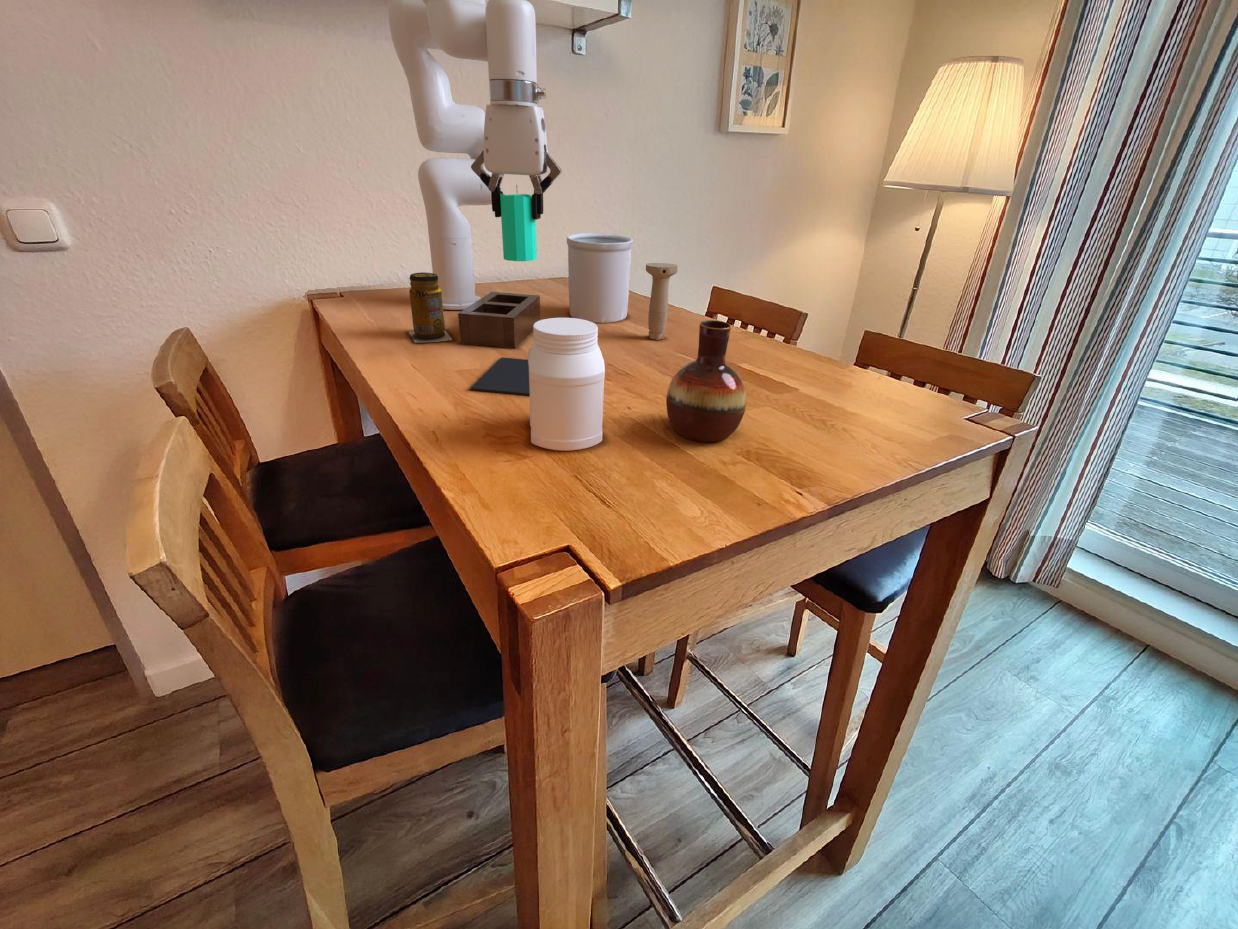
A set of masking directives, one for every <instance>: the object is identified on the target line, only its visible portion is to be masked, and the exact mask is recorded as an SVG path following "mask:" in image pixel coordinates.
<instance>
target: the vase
mask: <svg viewBox="0 0 1238 929" xmlns="http://www.w3.org/2000/svg"><path fill="white" fill-rule="evenodd" d="M698 327H699V329H698V349H697V357H696V359H695V360H692V361H690V362H688V363H687V364H685V365H683V366H682V367H681V368H680V369H679V370H678V371H677V372H676V373H675V374H674V375H673V377H672V379H671V380H670V382H669V384H668V388H667V392H666V399H665V401H666V402H665V403H666V413H667V417H668V420H669V422H670V425H671V427H672V428H673V429H674V431H675V432H676V433H677V434H679V435H680V436H681V437H684V438H685V439H688V440H691V441H695V442H701V443H714V442H720V441H723V440H725V439H727V438H729V437H730V436H732V435H733V433H734V432H735V431H736V430H737V429H738V428H739V426H740V424H741V422H742V420H743V417H744V415H745V412H746V408H747V389H746V386H745V384H744V381H743V378H742V377H741V376H740V374H739V373H738V372H737V370H735V369H734V368H733V367H732V366H731V365H730V364H728V363H726V355H727V349H728V344H729V339H730V335H731V330H732V325H731V324H730V323H728V322H726V321H721V320H712V319H711V320H710V319H709V320H703V321H700V322H699V326H698Z"/></svg>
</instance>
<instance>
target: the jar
mask: <svg viewBox="0 0 1238 929" xmlns="http://www.w3.org/2000/svg"><path fill="white" fill-rule="evenodd" d="M532 332H533V334H532V336H533V339H532V340H533V342H532V344H531V346H530V347H529V349H528V350H527V360H528V365H529V390H530V396H529V426H530V443H531V444H532V445H534V446H537V447H539V448H543V449H547V450H552V451H561V452H563V451H565V452H567V451H568V452H569V451H571V452H572V451H580V450H585V449H589V448H592V447H595V446H598V445H599V444H601V442H602V441H603V437H604V436H603V435H604V432H603V419H604V394H605V393H604V392H605V389H604V388H605V377H606V367H605V366H606V365H605V360H604V357H603V354H602V352H601V348H600V346H599V342H598V341H599V338H598V336H599V327H598V325H597V323H595V322H590V321H587V320H583V319H577V318H573V317H551V318H544V319H540V321H538V322H536V323H535V324H534V325H533V330H532Z"/></svg>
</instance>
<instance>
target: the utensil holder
mask: <svg viewBox="0 0 1238 929" xmlns="http://www.w3.org/2000/svg"><path fill="white" fill-rule="evenodd" d="M566 244H567V266H568V267H567V269H568V302H569V304H568V306H569V315H570V317H571V318H577V319H583V320H587V321H590V322H593V323H595V324H598V323H599V324H607V323H608V324H609V323H617V322H621V321H623V320H625V319H626V318H627V316H628V308H629V297H630V296H629V294H630V279H631V266H632V265H631V263H632V262H631V261H632V250H633V246H634V239H633V237H630V236H627V235H622V234H616V233H615V234H614V233H603V232H580V233H573V234H569V235H567V236H566Z"/></svg>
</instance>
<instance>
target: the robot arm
mask: <svg viewBox="0 0 1238 929" xmlns="http://www.w3.org/2000/svg"><path fill="white" fill-rule="evenodd" d="M536 22H537V21H536V10H535V9H534V6H533V4H532V3H531V2H530V1H529V0H391V1H390V4H389V7H388V24H389V25H388V26H389V31H390V32H389V33H390V37H391V40H392V44H393V47H394V50H395V53H396V56H397V58H398V60H399V63H400V65H401V67H402V70H403V72H404V75H405V77H406V81H407V84H408V89H409V94H410V99H411V106H412V112H413V117H414V122H415V127H416V132H417V136H418V139H419V142H420V145H421V146H422V147H423V148H424V149H425V150H427V151H429V152H430V151H431V152H434V153H446V154H464V155H465V154H466V155H468V156H469V158H463V157H461V158H459V157H444V156H443V157H441V156H440V157H431V158H427V159H425V160H424V161H422V162H421V164H419V167H418V169H417V170H418V171H417V179H418V184H419V189H420V192H421V196H422V199H423V206H424V210H425V215H426V223H427V232H428V241H429V251H430V261H431V270H432V272H431V273H434V274H436V275H437V276H438V283H439V288H440V289H441V292H442V304H443V310H446V311H447V310H448V311H463V310H464V309H466V308H467V307H469V306H470V305H472V304H473V303H475V302H476V301H478V300H480V299H481V298H482V297H480V296H479V295H476V282H475V269H474V268H475V266H474V253H473V238H472V229H471V225H470V223H469V220H468V219H467V218H466V216H465V215H464V214H463V213H462V211H461V210H460V209H459V207H463V206H489V205H491V210H492V212H494V217H495V218H501V205H500V194H504V192H503V191H502V188H501V185H502V182H503V179H504V176H505V175H518V176H528V178H529V179H530V182H531V184H532V187H533V193H532V194H531V196H532V218H533V219H535V221H536V220H540V219H541V217H542V215H544V194H545V192H546V191H547V190H548V188H550V187H551V185H553V183H554V182H555V181H556V180H557V179H558V178H559V177H560V175H562V173H563V170H562V169H561V167H560V166H559V165H558V164H557V162H556V161H555V160H554V158H553V157H552V156H551V155H550V154H549V150H548V149H549V148H548V138H547V128H546V120H545V119H546V118H545V114H544V109H543V107H540V106H538V104H539V102H540V100H542V99H546V98H547V90H546V88H542V87H539V84H538V70H537V68H538V67H537V65H538V64H537V24H536ZM428 49H431V50H439V51H442V52H444V53H445V54H446V55H448V56H450V57H453V58H455V59H462V60H472V61H478V62H479V61H480V62H487V68H488V69H487V71H488V72H487V73H488V90H489V104H486V105H485V111H484V109H482V108H481V107H479V106H477V105H472V104H463V103H456V102H455V101H454V100H453V96H452V89H451V83H450V79H449V77H448V74H447V73H446V71H445V70H444V68H443V67H442V66H441V64H440V62H438V60H437V59H436V58H435V57H434V55H432V53H431V52H430V51H429V50H428ZM548 170H549V173H548ZM547 173H548V174H547ZM544 174H547V175H546V177H544V178H543V179H542V176H541V175H544Z"/></svg>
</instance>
